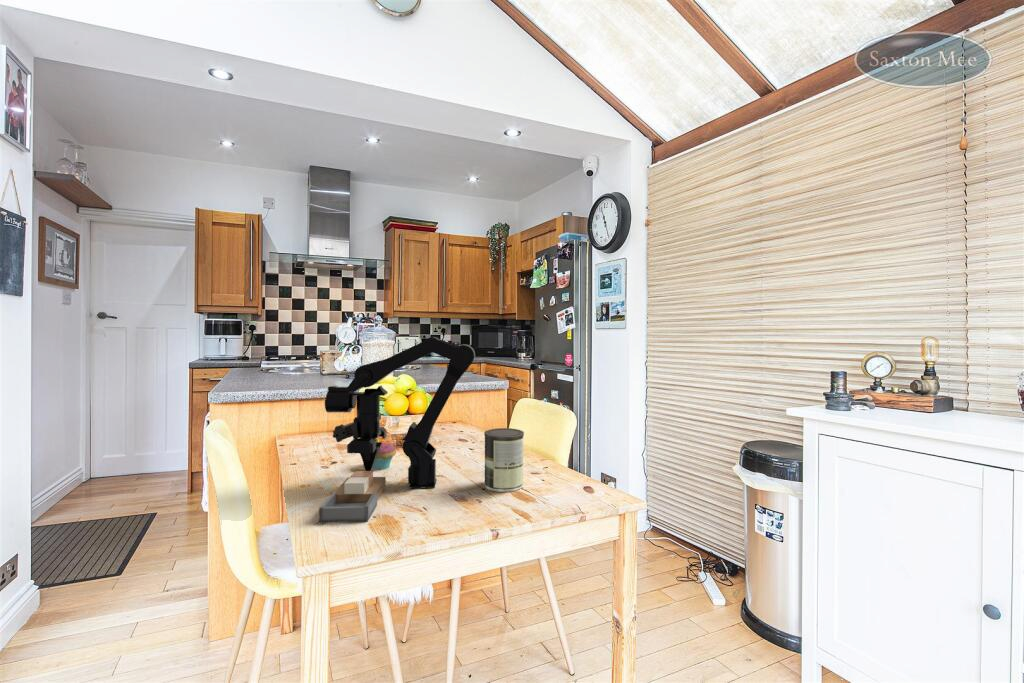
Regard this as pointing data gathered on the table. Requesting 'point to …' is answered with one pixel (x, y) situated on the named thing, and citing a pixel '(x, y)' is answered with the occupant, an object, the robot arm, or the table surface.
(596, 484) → the table surface
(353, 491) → the cream tile
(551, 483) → the table surface
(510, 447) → the coffee can
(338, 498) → the walnut board
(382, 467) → the cupcake
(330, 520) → the tray
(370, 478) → the terracotta tile
